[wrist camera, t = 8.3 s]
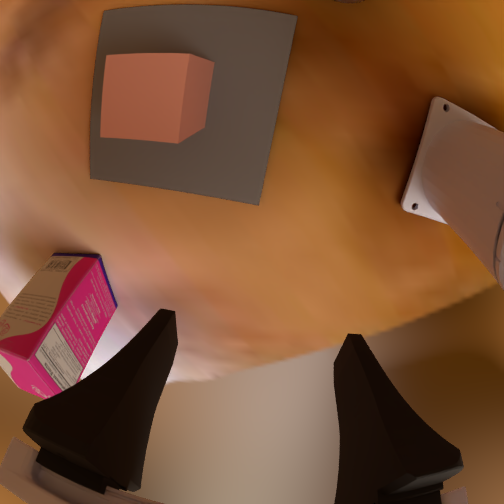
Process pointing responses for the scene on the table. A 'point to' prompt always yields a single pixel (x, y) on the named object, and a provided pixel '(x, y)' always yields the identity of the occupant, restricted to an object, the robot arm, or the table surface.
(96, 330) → the supplement box
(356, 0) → the grey domed cylinder
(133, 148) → the charcoal mat
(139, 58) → the red block
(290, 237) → the table surface
